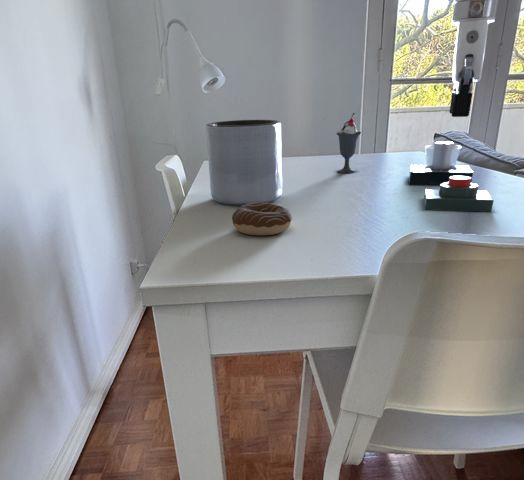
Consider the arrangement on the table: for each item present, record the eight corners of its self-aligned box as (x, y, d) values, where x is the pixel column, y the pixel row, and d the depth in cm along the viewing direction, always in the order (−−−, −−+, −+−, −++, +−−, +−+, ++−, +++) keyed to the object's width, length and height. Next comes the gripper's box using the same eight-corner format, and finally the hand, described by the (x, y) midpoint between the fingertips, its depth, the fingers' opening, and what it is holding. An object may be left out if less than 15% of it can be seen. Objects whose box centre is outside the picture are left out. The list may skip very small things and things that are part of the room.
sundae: (353, 174, 129) (357, 113, 122) (330, 172, 132) (333, 113, 125) (362, 170, 134) (366, 111, 126) (340, 169, 137) (343, 111, 130)
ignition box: (484, 201, 96) (488, 181, 94) (491, 211, 89) (495, 190, 87) (423, 200, 99) (426, 180, 97) (424, 210, 92) (427, 188, 90)
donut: (239, 221, 89) (238, 199, 87) (295, 222, 87) (295, 200, 85) (225, 237, 80) (224, 213, 78) (287, 239, 78) (287, 214, 76)
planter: (207, 208, 99) (200, 126, 91) (215, 192, 113) (209, 121, 105) (283, 206, 98) (283, 124, 91) (281, 190, 112) (281, 118, 105)
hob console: (466, 178, 119) (468, 164, 117) (470, 185, 110) (473, 171, 109) (409, 177, 122) (410, 164, 121) (409, 184, 114) (410, 171, 112)
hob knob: (431, 166, 117) (434, 140, 114) (449, 167, 116) (453, 140, 113) (431, 169, 114) (435, 142, 111) (449, 169, 113) (454, 142, 110)
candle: (415, 171, 130) (418, 146, 127) (440, 168, 133) (444, 143, 130) (438, 175, 123) (442, 149, 120) (464, 172, 126) (469, 146, 123)
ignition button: (468, 185, 94) (470, 175, 93) (470, 189, 90) (472, 179, 89) (447, 184, 95) (448, 175, 94) (448, 188, 91) (450, 179, 90)
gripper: (502, 6, 81) (482, 117, 89) (490, 17, 95) (474, 112, 103) (455, 10, 83) (440, 118, 91) (450, 20, 97) (438, 112, 105)
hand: (458, 114), depth 97 cm, fingers open, 9 cm apart
